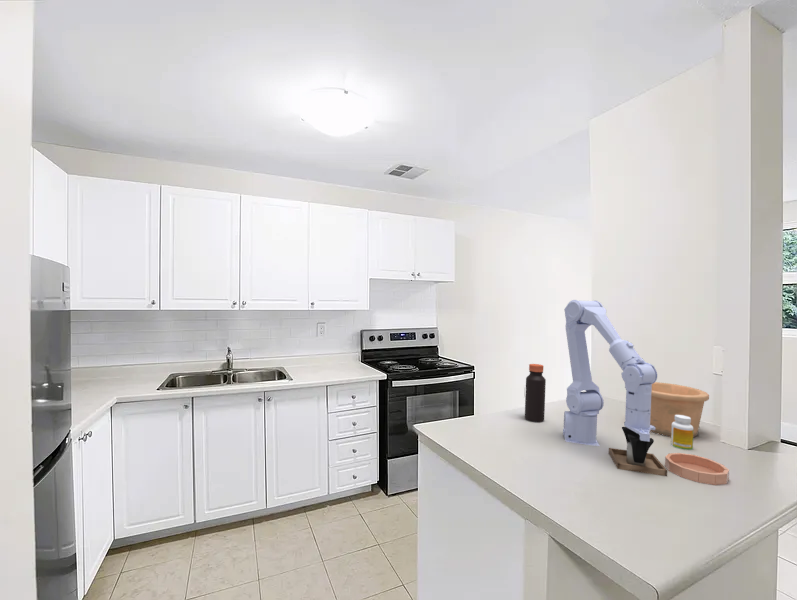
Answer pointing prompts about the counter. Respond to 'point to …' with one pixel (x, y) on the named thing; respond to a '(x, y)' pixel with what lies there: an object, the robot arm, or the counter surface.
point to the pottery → (675, 406)
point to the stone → (630, 456)
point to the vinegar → (535, 394)
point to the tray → (651, 465)
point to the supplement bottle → (682, 433)
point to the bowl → (697, 468)
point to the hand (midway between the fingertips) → (636, 458)
